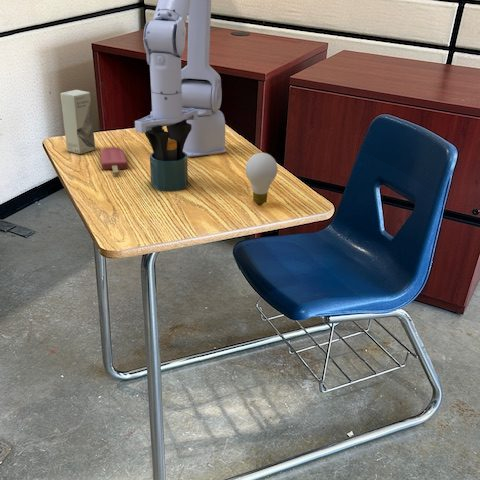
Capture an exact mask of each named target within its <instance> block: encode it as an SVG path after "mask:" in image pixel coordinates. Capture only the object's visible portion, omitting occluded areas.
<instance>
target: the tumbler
mask: <svg viewBox="0 0 480 480" xmlns="http://www.w3.org/2000/svg"><path fill="white" fill-rule="evenodd" d="M188 163H189V162H188V156H187V154H186V153H185V152H182V156H181V159H180V160H176V161H161V160H157V159H156V158H155V155H154V152H153V151H152V152H151V153H150V154H149V167H150V169H149V170H150V183H151V184H150V185H151V187H152V188H153V189H156V190H158V191H163V192H174V191H180V190H183V189H186V188H188V185H189V174H188V173H189V171H188V169H189V167H188V165H189V164H188Z"/></svg>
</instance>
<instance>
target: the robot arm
mask: <svg viewBox="0 0 480 480" xmlns="http://www.w3.org/2000/svg"><path fill="white" fill-rule="evenodd" d="M211 17H212V0H157V4H156V7H155V11H154V14H153V18H152V19H151V20H150V21H149V22H146V23H145V25H144V28H143V39H142V41H143V47H144V51H145V54H146V62H147V65H149V73H150V74H149V76H150V77H149V78H150V94H151V111H150V114H148V115H147V116H144V117H142V118H140V119H137V120H134V131H135V132H136V133H139V134H144V135H145V137H146V139H147V141H148V142H149V144H150V146H151V149H152V153H153V152H154V155H155V158H156V159H157V160H161V161H167V144H168V139H172V140H176V141H177V160H180V159H181V156H182V152H185V153H186V154H187V157H189V158H193V157H202V156H209V155H217V154H225V153H227V150H226V120H225V115H224V113H223V112H222V111H221V110H220V108H221V105H222V98H223V90H222V78H221V76H220V74H219V73H218V72H217V71H216V70H215V69H214V68H213V67H212V66H211V64H210V50H211V49H210V46H211V45H210V44H211V19H212V18H211ZM187 19H188V20H187ZM186 23H187V26H186ZM186 36H187V62H186V64H187V65H185V66H184V67H182V56H183V55H184V52H185V47H186ZM190 79H192V80H190ZM205 80H206V81H205ZM163 127H165V128H166V130H165V128H163Z"/></svg>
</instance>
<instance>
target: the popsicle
mask: <svg viewBox="0 0 480 480" xmlns="http://www.w3.org/2000/svg"><path fill="white" fill-rule="evenodd" d="M100 165H101V170H103V171H109V170H112V173H113V174H115V175H116V174H117V175H118V174H120V172H119V170H127V169H128V162H127V158H126V155H125V152H124V150H123V149H122V148H120V147H117V146H116V147H115V146H110V147H105V148H102V149H101V150H100Z"/></svg>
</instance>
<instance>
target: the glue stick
mask: <svg viewBox="0 0 480 480" xmlns="http://www.w3.org/2000/svg"><path fill="white" fill-rule="evenodd" d="M176 160H177V141H176V140H172V139H168V144H167V161H176Z"/></svg>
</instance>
